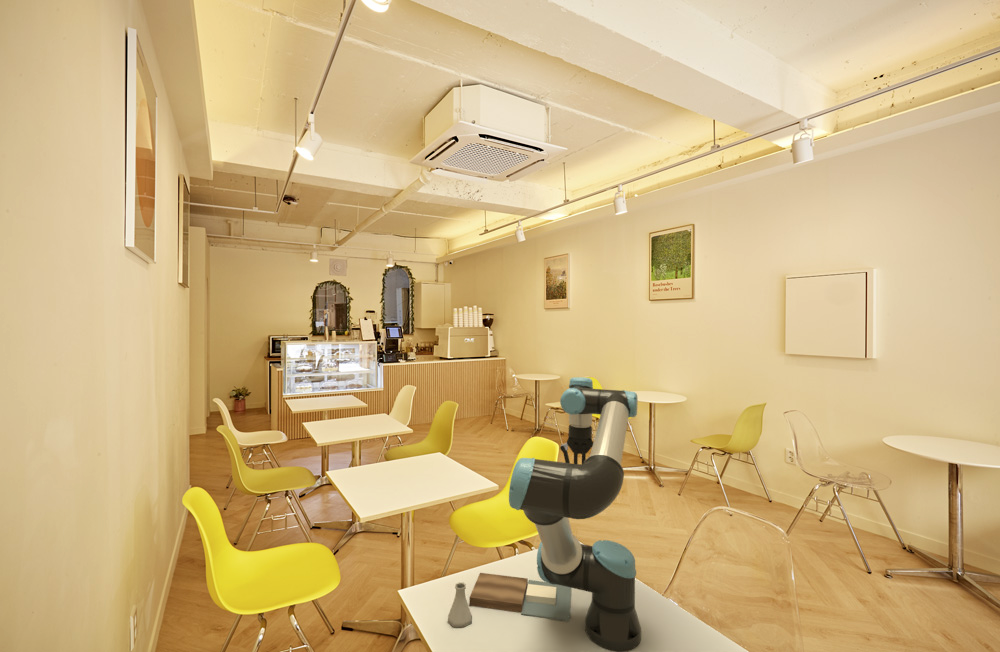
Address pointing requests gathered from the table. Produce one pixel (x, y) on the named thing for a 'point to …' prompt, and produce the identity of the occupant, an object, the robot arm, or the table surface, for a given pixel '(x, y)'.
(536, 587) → the cream rectangular block
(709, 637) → the table surface
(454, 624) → the flask
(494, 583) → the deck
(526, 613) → the mat
